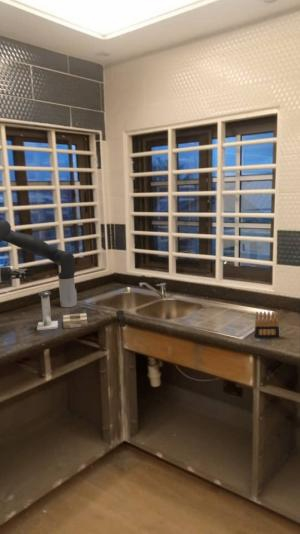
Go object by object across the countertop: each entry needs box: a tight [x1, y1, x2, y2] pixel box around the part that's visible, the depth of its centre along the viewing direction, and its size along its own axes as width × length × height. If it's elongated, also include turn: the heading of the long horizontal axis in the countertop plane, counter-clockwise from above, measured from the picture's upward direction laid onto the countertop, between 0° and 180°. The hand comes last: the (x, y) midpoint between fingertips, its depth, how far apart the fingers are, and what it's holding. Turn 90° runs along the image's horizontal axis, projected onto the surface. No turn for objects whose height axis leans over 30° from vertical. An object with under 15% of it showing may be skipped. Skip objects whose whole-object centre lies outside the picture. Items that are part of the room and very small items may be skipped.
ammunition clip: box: [253, 311, 280, 339], centre depth 184 cm, size 11×2×12 cm, turn 86°
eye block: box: [62, 312, 89, 329], centre depth 214 cm, size 12×12×4 cm
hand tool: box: [115, 309, 126, 328], centre depth 214 cm, size 19×4×5 cm, turn 7°
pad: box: [36, 320, 59, 331], centre depth 212 cm, size 10×10×1 cm
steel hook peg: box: [38, 290, 52, 326], centre depth 210 cm, size 6×6×17 cm
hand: (34, 272), depth 209 cm, fingers open, 8 cm apart
